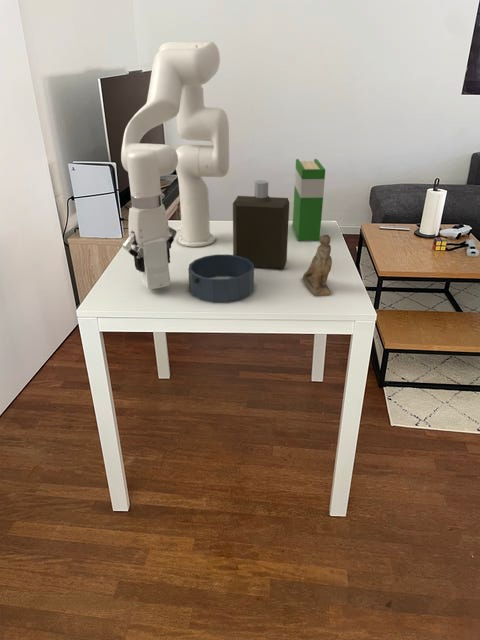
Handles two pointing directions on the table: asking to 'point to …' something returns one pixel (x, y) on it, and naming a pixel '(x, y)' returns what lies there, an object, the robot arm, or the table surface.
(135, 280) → the table surface
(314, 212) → the hardback book
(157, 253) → the small box
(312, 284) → the brown carved statuette
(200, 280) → the blue-grey ring
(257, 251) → the bottle
